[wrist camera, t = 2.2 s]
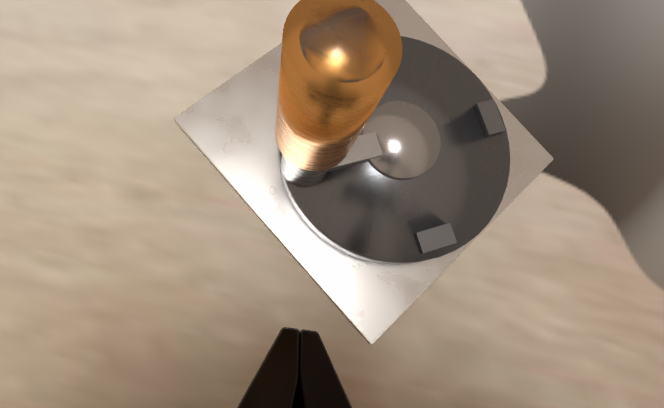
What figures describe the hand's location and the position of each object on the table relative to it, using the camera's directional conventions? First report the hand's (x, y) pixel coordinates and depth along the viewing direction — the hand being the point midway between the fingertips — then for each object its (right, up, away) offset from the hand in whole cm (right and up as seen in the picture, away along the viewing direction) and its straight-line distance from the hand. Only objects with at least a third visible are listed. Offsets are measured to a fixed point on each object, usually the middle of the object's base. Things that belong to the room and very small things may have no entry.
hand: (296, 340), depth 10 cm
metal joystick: (+4, +6, +14) cm, 15 cm away
